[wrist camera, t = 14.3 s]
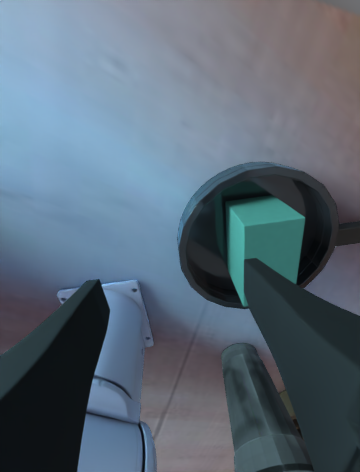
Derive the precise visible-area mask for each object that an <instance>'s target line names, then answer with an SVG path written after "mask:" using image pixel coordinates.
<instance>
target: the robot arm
mask: <svg viewBox="0 0 360 472" xmlns="http://www.w3.org/2000/svg"><path fill="white" fill-rule="evenodd" d="M133 288H136V290H135V289H133ZM244 294H245V297H246V300H247V303H248V306H249V309H250V311H251V313H252V315H253V317H254V319H255V321H256V323H257V325H258V327H259V329H260V331H261V333H262V335H263V337H264V339H265V341H266V343H267V345H268V347H269V349H270V351H271V353H272V355H273V358H274V360H275V362H276V365H277V367H278V370H279V372H280V375H281V378H282V380H283V383H284V385H285V388H286V391H287V394H288V396H289V399H290V402H291V404H292V407H293V410H294V413H295V416H296V418H297V421H298V424H299V427H300V430H301V433H302V436H303V438H304V442H305V445H306V448H307V451H308V454H309V457H310V460H311V463H312V466H313V469H314V472H360V316H359V315H356V314H354V313H351V312H349V311H347V310H344V309H342V308H340V307H338V306H335V305H333V304H331V303H329V302H327V301H325V300H323V299H321V298H319V297H317V296H315V295H313V294H312V293H310V292H308V291H306V290H305V289H303V288H301V287H299V286H298V285H296V284H295V283H293V282H291V281H290V280H288V279H287V278H285V277H284V276H282V275H281V274H279V273H278V272H276V271H275V270H273V269H272V268H270V267H269V266H267V265H266V264H265V263H263V262H262V261H260V260H259V259H257V258H251V259H244ZM57 297H58V299H59V301H60V303H61V306H60V307H59V308H58V309H57V310H56V311H55V312H54V313H53V314H52V315H50V316H49V317H48V318H47V319H46V320H45V321H44V322H43V323H42V324H40V325H39V326H38V327H37V328H36V329H35V330H33V331H32V332H31V333H30V334H29V335H27V336H26V337H25V338H24V339H22V340H21V341H20V342H18V343H17V344H16V345H15V346H13V347H12V348H11V349H9V350H8V351H6V352H5V353H4V354H2V355H1V356H0V472H157V460H156V450H155V444H154V441H153V437H152V433H151V430H150V428H149V426H148V425H147V424H146V423H145V422H143V421H140V409H141V404H140V399H141V389H142V377H143V365H144V353H145V347H151V346H153V344H154V340H153V336H152V333H151V329H150V325H149V321H148V317H147V313H146V309H145V305H144V302H143V298H142V294H141V290H140V286H139V283H138V281H136V280H128V281H121V282H113V283H106V284H101V282H100V279H96V280H89V281H86V282H85V283H84V284H83V285H82V286H81V287H77V288H70V289H62V290H60V291H59V292H58V293H57ZM64 298H66V299H64Z"/></svg>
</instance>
